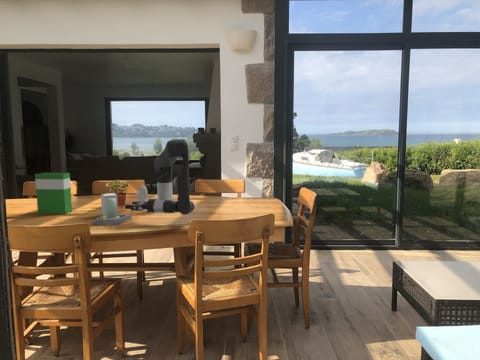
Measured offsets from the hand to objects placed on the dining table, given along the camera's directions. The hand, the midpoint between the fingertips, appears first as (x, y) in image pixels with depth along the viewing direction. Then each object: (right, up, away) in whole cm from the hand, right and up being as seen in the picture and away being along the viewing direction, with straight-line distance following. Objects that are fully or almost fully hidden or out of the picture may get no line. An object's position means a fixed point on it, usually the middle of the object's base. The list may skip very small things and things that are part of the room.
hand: (129, 205), depth 217 cm
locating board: (-10, -9, +3) cm, 14 cm away
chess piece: (-2, -5, +36) cm, 36 cm away
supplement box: (-16, -7, +19) cm, 26 cm away
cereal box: (-53, -6, +27) cm, 59 cm away
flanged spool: (-10, -8, +3) cm, 13 cm away
